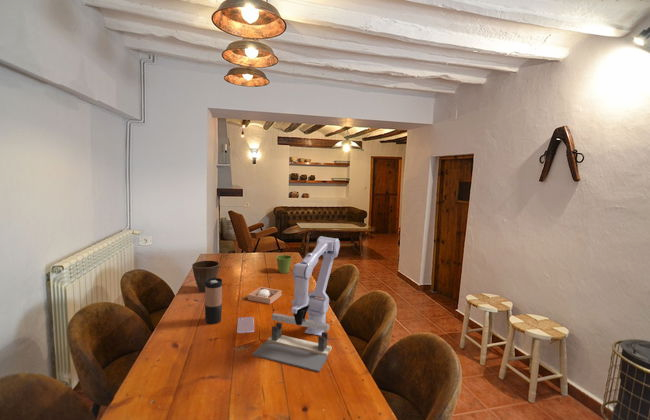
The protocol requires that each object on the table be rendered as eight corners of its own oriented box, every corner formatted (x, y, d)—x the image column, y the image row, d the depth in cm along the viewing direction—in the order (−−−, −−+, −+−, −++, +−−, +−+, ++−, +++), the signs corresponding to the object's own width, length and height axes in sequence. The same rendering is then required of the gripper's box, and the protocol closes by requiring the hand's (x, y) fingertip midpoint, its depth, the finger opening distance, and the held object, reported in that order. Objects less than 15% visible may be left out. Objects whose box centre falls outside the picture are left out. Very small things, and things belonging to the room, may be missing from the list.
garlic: (260, 293, 193) (260, 287, 192) (271, 294, 192) (271, 288, 191) (256, 298, 185) (256, 291, 184) (267, 299, 184) (267, 293, 183)
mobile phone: (236, 331, 144) (237, 317, 158) (236, 333, 144) (237, 318, 158) (254, 330, 146) (253, 316, 160) (254, 332, 146) (253, 318, 160)
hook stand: (273, 335, 143) (274, 320, 143) (331, 348, 135) (332, 333, 134) (266, 342, 138) (267, 326, 137) (327, 356, 129) (328, 339, 129)
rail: (274, 317, 140) (274, 312, 140) (329, 328, 133) (329, 323, 132) (271, 319, 138) (272, 314, 138) (327, 331, 130) (327, 326, 130)
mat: (264, 343, 137) (264, 341, 137) (327, 357, 128) (327, 356, 128) (252, 355, 127) (252, 353, 127) (319, 372, 119) (319, 370, 119)
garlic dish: (260, 291, 195) (260, 286, 194) (281, 295, 190) (281, 290, 190) (247, 299, 181) (247, 294, 181) (270, 304, 177) (270, 298, 177)
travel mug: (217, 316, 160) (217, 276, 157) (224, 321, 154) (225, 281, 152) (202, 320, 154) (202, 279, 152) (209, 326, 149) (209, 284, 147)
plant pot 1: (197, 296, 182) (197, 269, 180) (188, 288, 193) (188, 262, 191) (222, 291, 192) (223, 265, 190) (212, 284, 203) (213, 259, 201)
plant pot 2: (283, 268, 243) (283, 253, 242) (295, 272, 236) (295, 257, 235) (271, 272, 233) (272, 256, 232) (283, 275, 226) (284, 260, 225)
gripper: (299, 285, 142) (297, 314, 143) (285, 296, 128) (283, 328, 130) (314, 287, 140) (312, 317, 141) (301, 299, 126) (299, 332, 127)
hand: (299, 323), depth 135 cm, fingers closed on rail, 2 cm apart
